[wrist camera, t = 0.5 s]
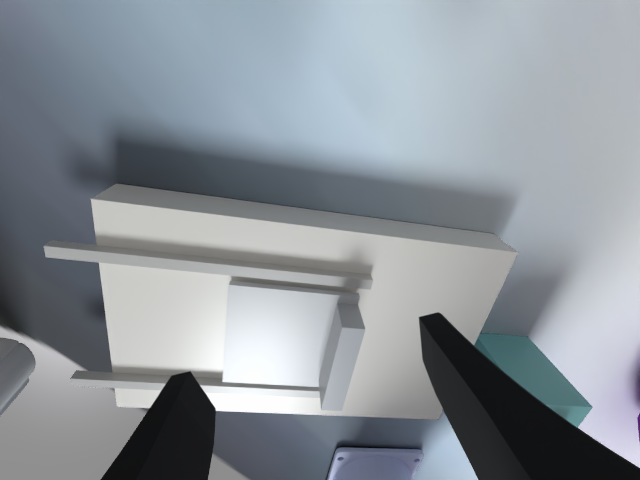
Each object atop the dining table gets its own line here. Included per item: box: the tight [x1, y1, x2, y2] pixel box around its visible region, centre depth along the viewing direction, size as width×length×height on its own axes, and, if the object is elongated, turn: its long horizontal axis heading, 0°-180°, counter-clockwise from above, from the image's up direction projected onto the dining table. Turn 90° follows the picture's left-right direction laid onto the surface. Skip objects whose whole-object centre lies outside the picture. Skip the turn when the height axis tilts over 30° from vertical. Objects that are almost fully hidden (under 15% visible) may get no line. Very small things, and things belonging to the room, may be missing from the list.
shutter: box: [222, 281, 365, 411], centre depth 18 cm, size 7×7×2 cm
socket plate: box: [44, 184, 518, 420], centre depth 21 cm, size 14×24×3 cm, turn 80°
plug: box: [474, 333, 592, 427], centre depth 22 cm, size 4×4×7 cm
